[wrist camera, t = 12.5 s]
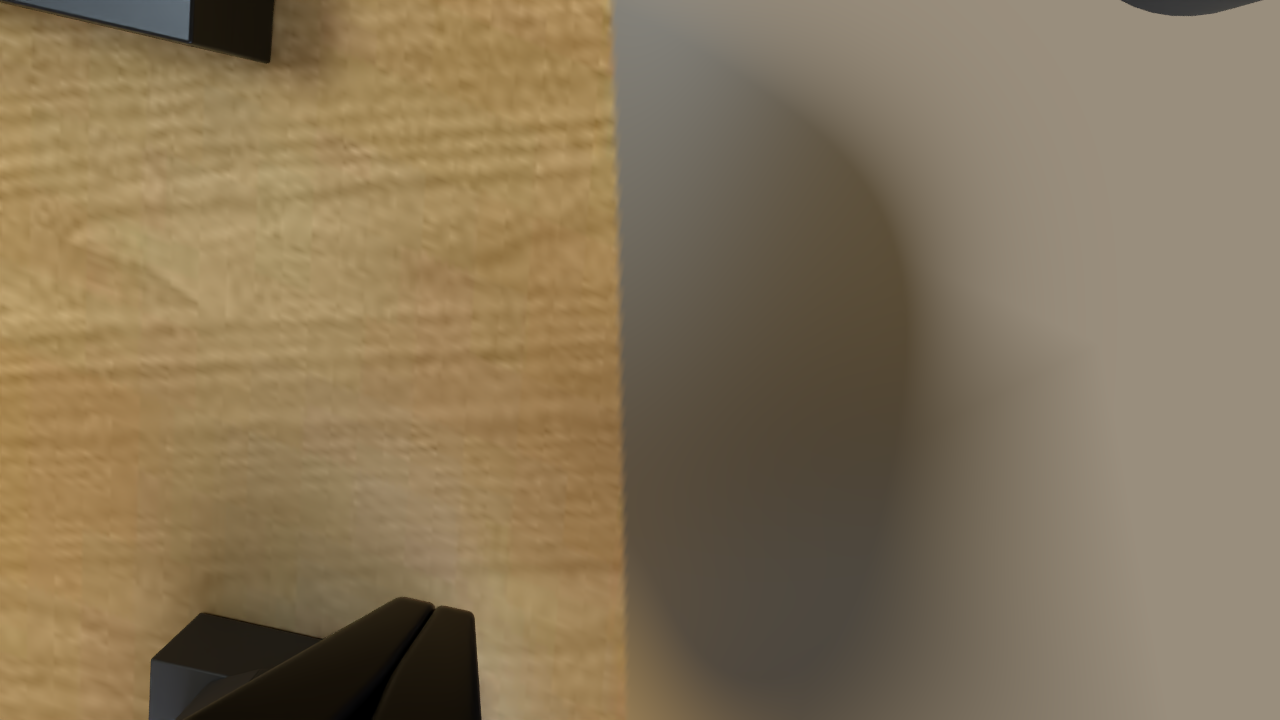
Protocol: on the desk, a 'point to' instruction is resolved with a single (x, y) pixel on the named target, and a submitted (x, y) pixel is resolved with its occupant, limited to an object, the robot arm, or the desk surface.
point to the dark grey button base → (214, 663)
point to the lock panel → (178, 21)
